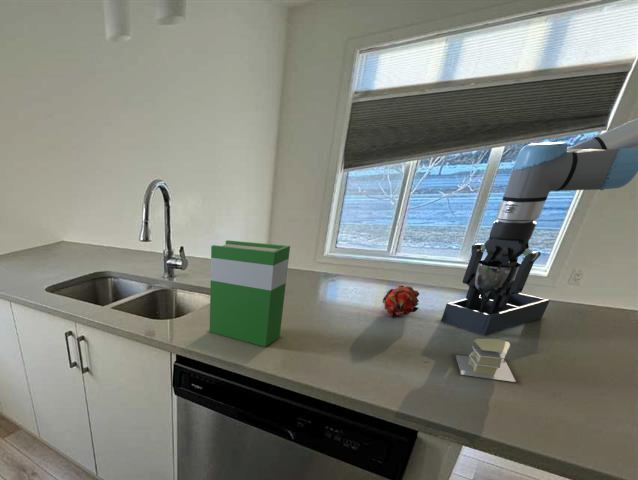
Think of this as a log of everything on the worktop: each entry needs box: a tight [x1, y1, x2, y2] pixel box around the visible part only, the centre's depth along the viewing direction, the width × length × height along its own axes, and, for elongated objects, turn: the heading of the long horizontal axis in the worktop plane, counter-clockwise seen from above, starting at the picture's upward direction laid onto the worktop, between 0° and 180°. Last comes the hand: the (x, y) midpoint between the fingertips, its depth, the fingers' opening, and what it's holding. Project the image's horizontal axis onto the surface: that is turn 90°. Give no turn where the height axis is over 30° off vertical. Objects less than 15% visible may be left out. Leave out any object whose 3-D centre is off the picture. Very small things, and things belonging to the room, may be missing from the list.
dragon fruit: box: [382, 285, 420, 317], centre depth 115 cm, size 8×8×12 cm
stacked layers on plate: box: [455, 338, 516, 383], centre depth 86 cm, size 10×9×6 cm
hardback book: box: [209, 239, 291, 348], centre depth 107 cm, size 18×7×24 cm, turn 44°
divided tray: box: [440, 292, 551, 336], centre depth 106 cm, size 11×21×5 cm, turn 110°
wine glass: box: [474, 259, 521, 312], centre depth 102 cm, size 8×8×15 cm
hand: (479, 314), depth 105 cm, fingers closed on wine glass, 5 cm apart
